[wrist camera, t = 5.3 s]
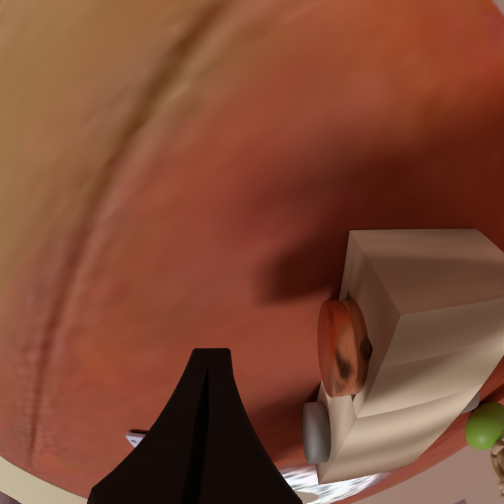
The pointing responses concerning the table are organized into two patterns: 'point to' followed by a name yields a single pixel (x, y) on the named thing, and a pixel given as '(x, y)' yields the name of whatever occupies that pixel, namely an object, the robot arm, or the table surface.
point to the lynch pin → (343, 347)
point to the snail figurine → (489, 435)
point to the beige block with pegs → (410, 347)
